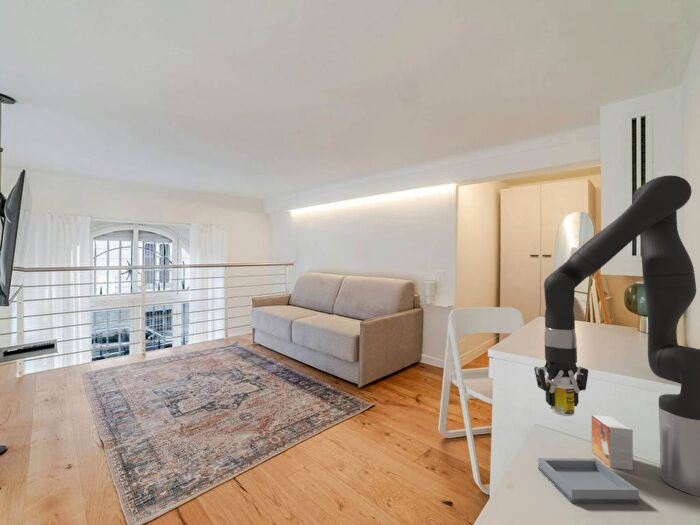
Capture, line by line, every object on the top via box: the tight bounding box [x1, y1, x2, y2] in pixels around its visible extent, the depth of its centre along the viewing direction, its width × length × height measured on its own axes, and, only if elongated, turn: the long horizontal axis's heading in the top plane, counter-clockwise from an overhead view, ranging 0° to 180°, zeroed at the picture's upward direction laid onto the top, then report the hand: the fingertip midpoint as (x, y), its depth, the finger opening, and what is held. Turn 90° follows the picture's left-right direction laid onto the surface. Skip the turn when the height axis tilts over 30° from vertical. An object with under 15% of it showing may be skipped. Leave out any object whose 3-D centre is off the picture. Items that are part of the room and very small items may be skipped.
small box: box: [591, 414, 634, 471], centre depth 86 cm, size 8×6×10 cm
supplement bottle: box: [550, 377, 575, 417], centre depth 88 cm, size 6×6×10 cm
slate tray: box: [537, 457, 640, 505], centre depth 76 cm, size 15×12×3 cm
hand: (562, 405), depth 88 cm, fingers closed on supplement bottle, 5 cm apart
